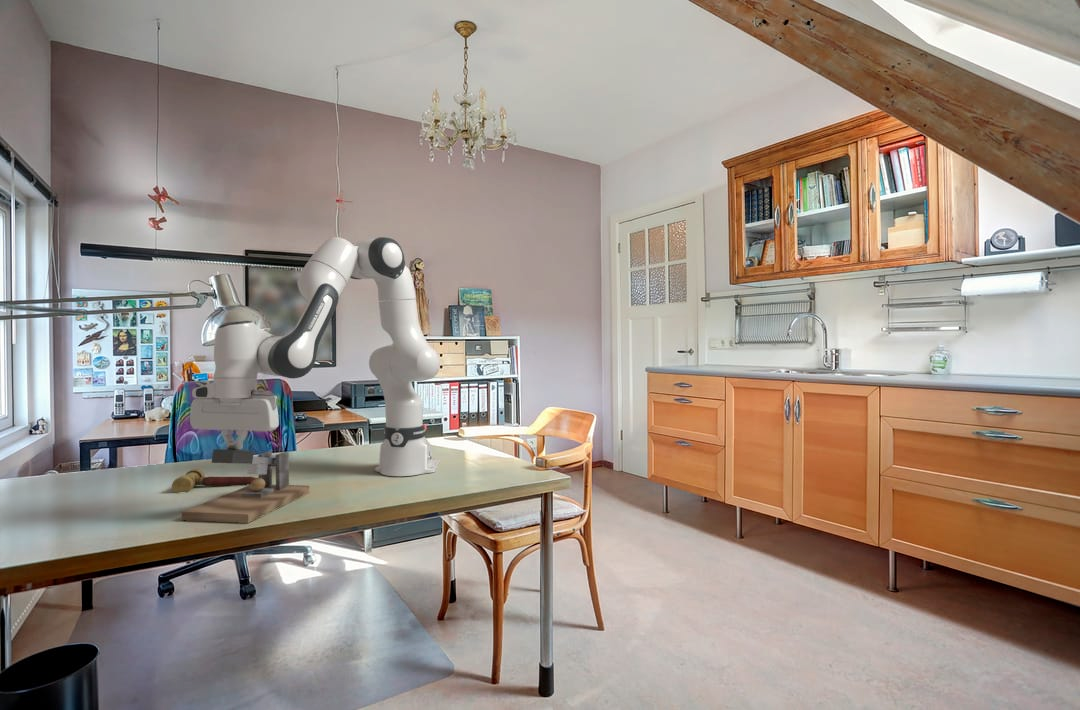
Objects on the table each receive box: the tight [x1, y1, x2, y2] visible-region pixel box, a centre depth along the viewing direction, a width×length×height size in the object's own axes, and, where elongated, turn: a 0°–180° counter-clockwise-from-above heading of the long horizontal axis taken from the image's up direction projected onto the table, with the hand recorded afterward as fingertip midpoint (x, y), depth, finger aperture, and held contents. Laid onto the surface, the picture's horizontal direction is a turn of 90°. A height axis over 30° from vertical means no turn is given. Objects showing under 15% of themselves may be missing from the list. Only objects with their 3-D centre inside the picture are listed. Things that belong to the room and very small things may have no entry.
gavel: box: [171, 468, 257, 494], centre depth 147 cm, size 21×5×10 cm
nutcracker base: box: [181, 451, 310, 524], centre depth 128 cm, size 24×16×11 cm, turn 173°
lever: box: [211, 448, 277, 475], centre depth 128 cm, size 20×5×6 cm, turn 173°
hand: (234, 449), depth 123 cm, fingers closed, pressing on lever
